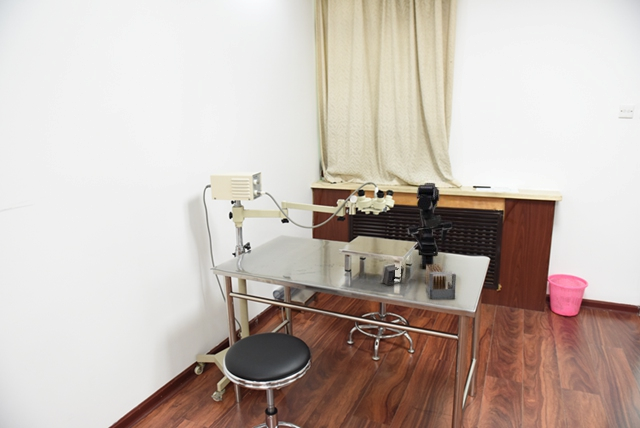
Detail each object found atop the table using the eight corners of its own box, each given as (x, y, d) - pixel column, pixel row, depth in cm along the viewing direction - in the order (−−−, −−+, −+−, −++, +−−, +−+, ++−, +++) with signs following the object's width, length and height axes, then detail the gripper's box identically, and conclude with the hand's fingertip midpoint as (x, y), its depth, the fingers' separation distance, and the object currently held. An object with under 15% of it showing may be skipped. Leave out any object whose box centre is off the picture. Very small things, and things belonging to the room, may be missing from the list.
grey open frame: (425, 290, 171) (425, 267, 169) (449, 290, 170) (450, 267, 168) (429, 299, 163) (430, 274, 161) (455, 299, 162) (455, 274, 160)
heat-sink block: (425, 281, 182) (425, 264, 181) (438, 281, 182) (439, 264, 180) (431, 293, 169) (431, 275, 167) (446, 293, 168) (446, 275, 167)
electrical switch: (398, 279, 186) (399, 260, 183) (404, 284, 181) (405, 264, 178) (380, 283, 182) (381, 263, 179) (386, 287, 178) (387, 268, 175)
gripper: (407, 213, 174) (413, 249, 172) (451, 207, 172) (458, 243, 170) (405, 216, 185) (410, 250, 183) (446, 210, 183) (452, 245, 181)
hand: (432, 247), depth 179 cm, fingers open, 9 cm apart
